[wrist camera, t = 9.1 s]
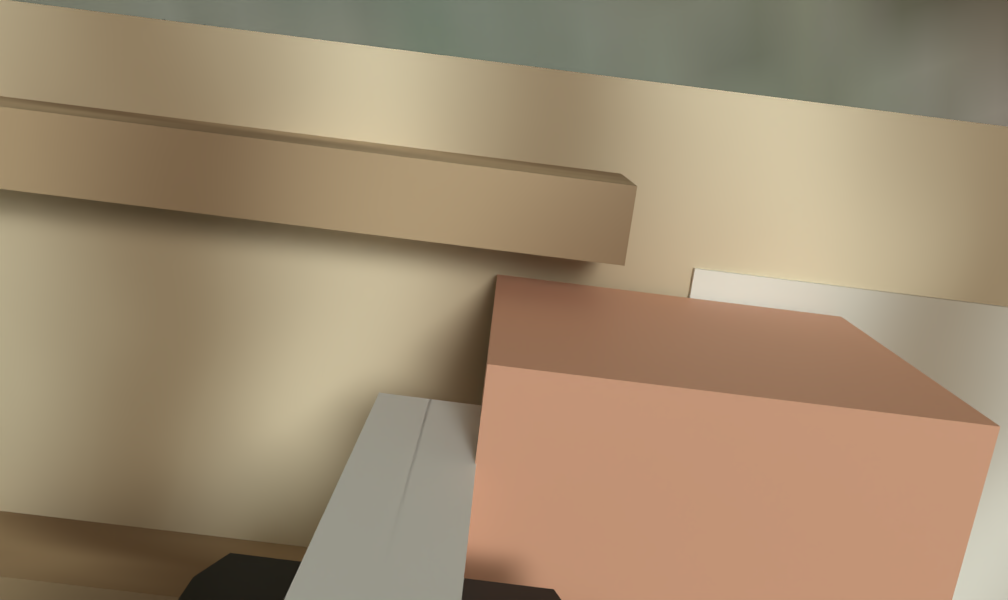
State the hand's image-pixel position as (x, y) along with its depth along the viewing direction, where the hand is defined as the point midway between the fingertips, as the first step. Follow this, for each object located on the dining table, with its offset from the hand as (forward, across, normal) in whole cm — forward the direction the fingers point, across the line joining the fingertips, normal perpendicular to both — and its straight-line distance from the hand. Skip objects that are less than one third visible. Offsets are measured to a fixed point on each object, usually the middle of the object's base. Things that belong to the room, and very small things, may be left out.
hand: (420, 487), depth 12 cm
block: (+3, +4, 0) cm, 5 cm away
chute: (+4, +1, 0) cm, 4 cm away
